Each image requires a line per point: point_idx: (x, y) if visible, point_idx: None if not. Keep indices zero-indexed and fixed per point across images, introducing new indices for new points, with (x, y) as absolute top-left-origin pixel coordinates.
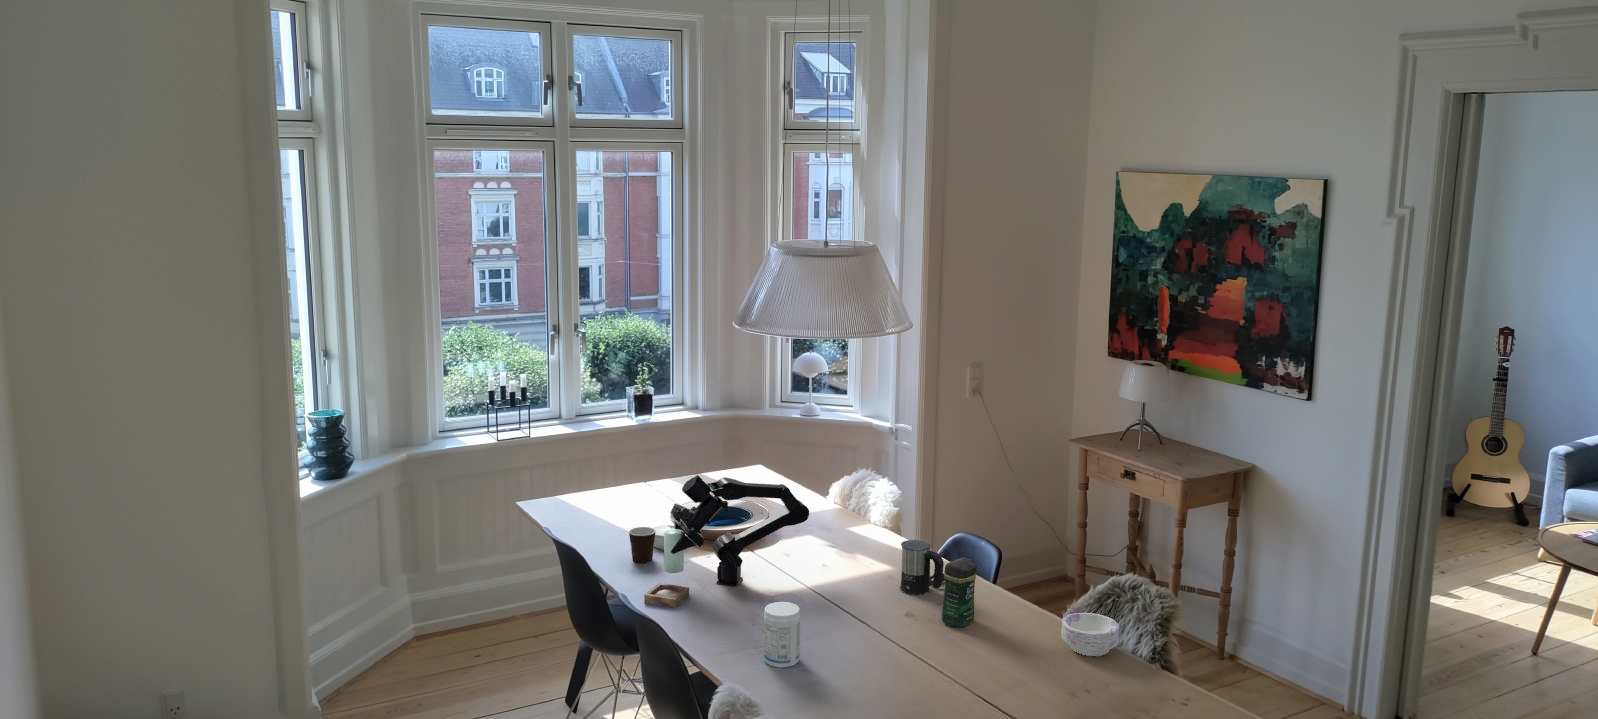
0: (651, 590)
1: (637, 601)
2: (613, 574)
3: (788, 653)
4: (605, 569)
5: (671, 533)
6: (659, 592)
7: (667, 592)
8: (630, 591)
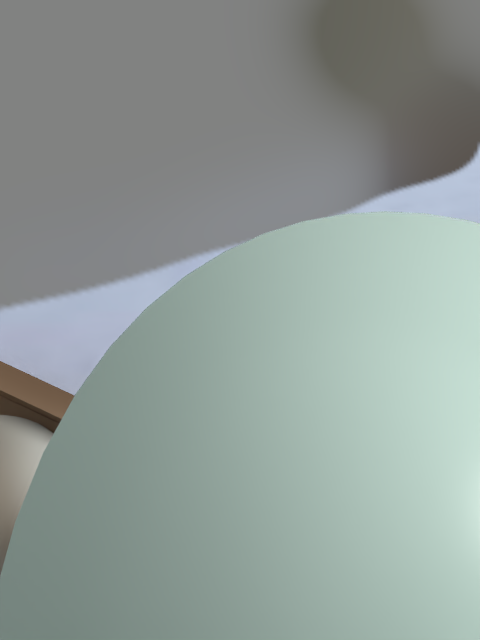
0: (15, 382)
1: (9, 319)
2: (404, 212)
3: None
4: (457, 184)
5: (329, 473)
6: (33, 447)
7: (18, 513)
8: (174, 283)
